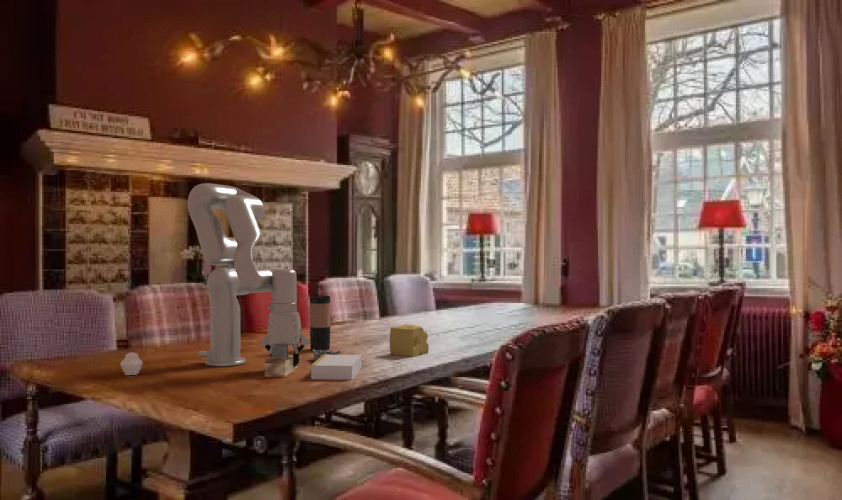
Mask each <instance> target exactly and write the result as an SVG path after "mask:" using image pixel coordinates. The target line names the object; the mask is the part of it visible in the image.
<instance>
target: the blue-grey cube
mask: <svg viewBox="0 0 842 500" xmlns="http://www.w3.org/2000/svg"><path fill="white" fill-rule="evenodd" d="M288 355H289V345H275V346H273V347H272V358H286V359H288Z"/></svg>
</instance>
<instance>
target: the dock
mask: <svg viewBox="0 0 842 500" xmlns="http://www.w3.org/2000/svg"><path fill="white" fill-rule="evenodd" d="M362 361H363V354H338V355H328V354H324V355H323V356H322V357H320V358H319V359H318V360H314V362H313V363H311V365H310V366H311V373H310V374H311V377H310V378H311V380H345V381H346V380H348V381H349V380H353V379H354V378H355V377H356V376H357V374H358V373H359V372H360V370H361V369H362V368H363V364H362Z"/></svg>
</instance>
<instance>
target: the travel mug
mask: <svg viewBox="0 0 842 500" xmlns="http://www.w3.org/2000/svg"><path fill="white" fill-rule="evenodd" d="M309 301H310V302H309V335H310V336H309V339H310V340H309V341H310V342H309V344H310V350H311V351H313V349H314V350H326V351H330V348H331V295H316V296H312V295H311V296H310V297H309Z"/></svg>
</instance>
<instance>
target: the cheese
mask: <svg viewBox="0 0 842 500" xmlns="http://www.w3.org/2000/svg"><path fill="white" fill-rule="evenodd" d="M428 337H429V336H428V332H427V331H425V330H424V328H423V327H422V326H420V325H414V324H406V323H405V324H402V325H399V326H395V327H394V326H393V327H390V331H389V350H390V351H389V352H390V355H392V354H394V355H393V356H401V355H403V357H410V358H411V357H412V358H414V357H417V356H419V355H426V354H428V353H429V348H430V347H429V343H428V342H427V341H428Z"/></svg>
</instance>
